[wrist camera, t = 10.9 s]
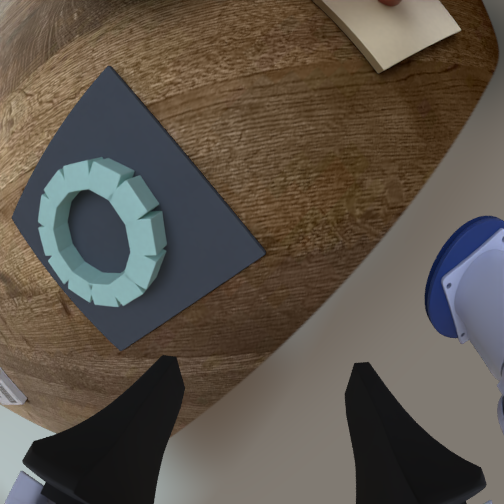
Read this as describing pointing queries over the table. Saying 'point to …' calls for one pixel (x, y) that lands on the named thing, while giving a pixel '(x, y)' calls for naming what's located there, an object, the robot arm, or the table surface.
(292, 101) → the table surface
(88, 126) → the felt mat
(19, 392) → the book
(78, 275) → the ring
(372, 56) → the ring toss stand
